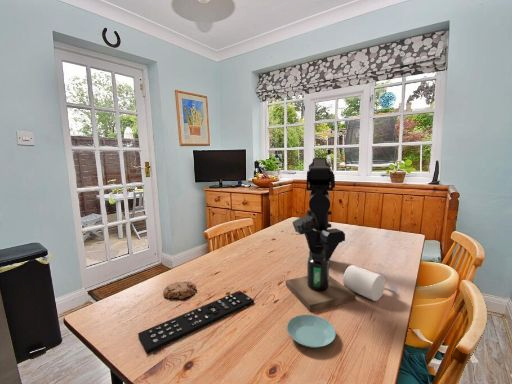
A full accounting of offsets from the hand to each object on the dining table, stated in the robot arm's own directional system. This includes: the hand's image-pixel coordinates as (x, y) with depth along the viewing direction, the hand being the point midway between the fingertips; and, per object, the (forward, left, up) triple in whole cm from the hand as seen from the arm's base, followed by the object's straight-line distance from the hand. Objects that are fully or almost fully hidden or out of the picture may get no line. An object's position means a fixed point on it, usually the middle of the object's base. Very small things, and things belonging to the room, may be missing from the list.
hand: (318, 255), depth 82 cm
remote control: (+38, 0, -14) cm, 40 cm away
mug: (-15, +5, -13) cm, 21 cm away
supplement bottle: (0, 0, -11) cm, 11 cm away
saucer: (+13, +17, -13) cm, 25 cm away
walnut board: (0, 0, -13) cm, 13 cm away
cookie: (+43, -17, -13) cm, 48 cm away
